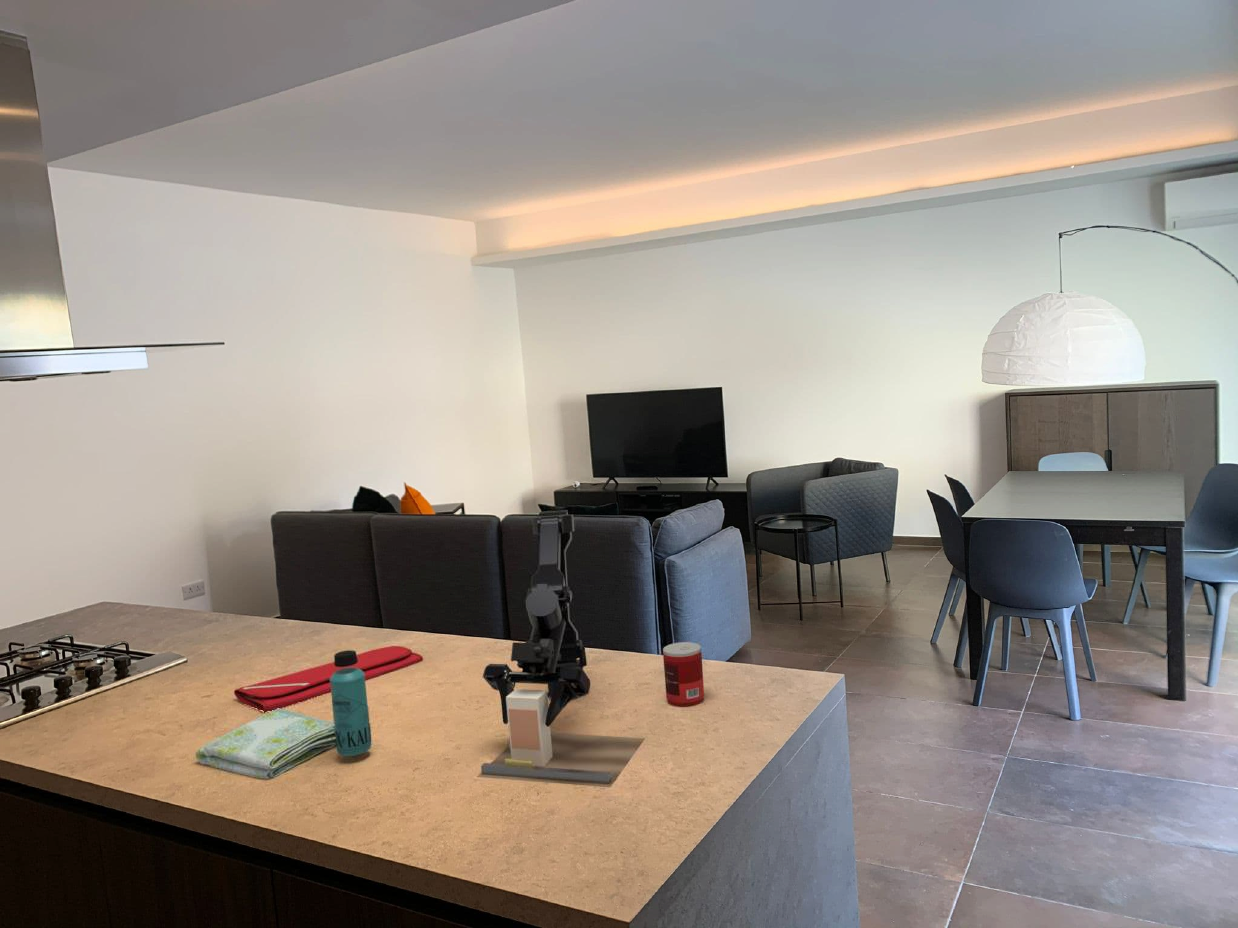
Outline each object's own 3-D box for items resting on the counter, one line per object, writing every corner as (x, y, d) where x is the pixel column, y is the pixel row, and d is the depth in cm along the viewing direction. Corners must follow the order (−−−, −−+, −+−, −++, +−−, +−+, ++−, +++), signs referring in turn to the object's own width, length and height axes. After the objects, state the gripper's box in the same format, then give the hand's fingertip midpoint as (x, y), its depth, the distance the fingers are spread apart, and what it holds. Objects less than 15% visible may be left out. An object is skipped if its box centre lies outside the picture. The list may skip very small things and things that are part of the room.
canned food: (709, 694, 185) (706, 642, 184) (696, 708, 178) (692, 654, 177) (675, 691, 188) (671, 640, 187) (660, 705, 181) (656, 652, 180)
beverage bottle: (341, 751, 170) (330, 648, 168) (376, 747, 170) (366, 645, 168) (333, 766, 163) (321, 659, 161) (370, 762, 164) (359, 655, 162)
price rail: (485, 770, 154) (484, 756, 154) (612, 779, 147) (611, 765, 147) (481, 774, 153) (480, 760, 152) (609, 784, 145) (608, 769, 145)
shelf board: (524, 736, 170) (524, 731, 170) (645, 743, 163) (645, 738, 163) (477, 782, 152) (476, 776, 152) (610, 792, 144) (610, 786, 144)
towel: (270, 784, 159) (266, 756, 158) (195, 765, 169) (191, 739, 169) (348, 744, 174) (345, 719, 174) (275, 729, 185) (272, 705, 184)
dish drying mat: (424, 663, 223) (423, 648, 223) (266, 716, 193) (264, 699, 193) (389, 653, 234) (388, 639, 234) (233, 702, 204) (232, 686, 204)
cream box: (521, 754, 160) (515, 688, 159) (552, 756, 158) (546, 690, 157) (511, 764, 156) (505, 697, 155) (543, 766, 154) (537, 699, 153)
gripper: (482, 620, 161) (458, 702, 152) (579, 621, 155) (560, 707, 146) (505, 649, 169) (483, 728, 160) (598, 651, 164) (581, 734, 154)
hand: (525, 724), depth 155 cm, fingers open, 8 cm apart
